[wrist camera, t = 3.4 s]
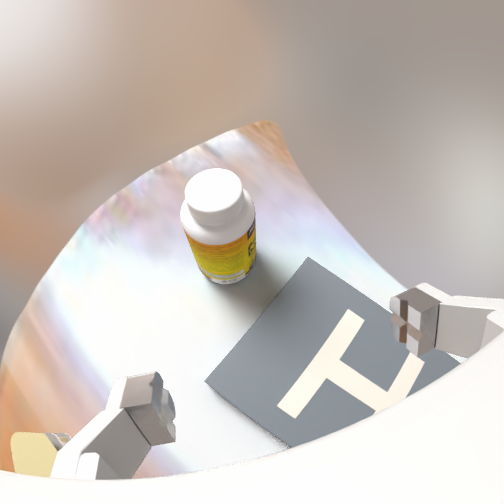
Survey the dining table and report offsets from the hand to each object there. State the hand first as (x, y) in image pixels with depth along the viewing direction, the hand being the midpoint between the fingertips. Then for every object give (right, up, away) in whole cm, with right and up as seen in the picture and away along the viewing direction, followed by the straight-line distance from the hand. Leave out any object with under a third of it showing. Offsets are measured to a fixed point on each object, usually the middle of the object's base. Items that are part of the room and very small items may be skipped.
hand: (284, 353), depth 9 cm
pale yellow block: (-19, -17, +10) cm, 27 cm away
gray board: (+7, -8, +13) cm, 17 cm away
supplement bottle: (-3, +2, +20) cm, 20 cm away
